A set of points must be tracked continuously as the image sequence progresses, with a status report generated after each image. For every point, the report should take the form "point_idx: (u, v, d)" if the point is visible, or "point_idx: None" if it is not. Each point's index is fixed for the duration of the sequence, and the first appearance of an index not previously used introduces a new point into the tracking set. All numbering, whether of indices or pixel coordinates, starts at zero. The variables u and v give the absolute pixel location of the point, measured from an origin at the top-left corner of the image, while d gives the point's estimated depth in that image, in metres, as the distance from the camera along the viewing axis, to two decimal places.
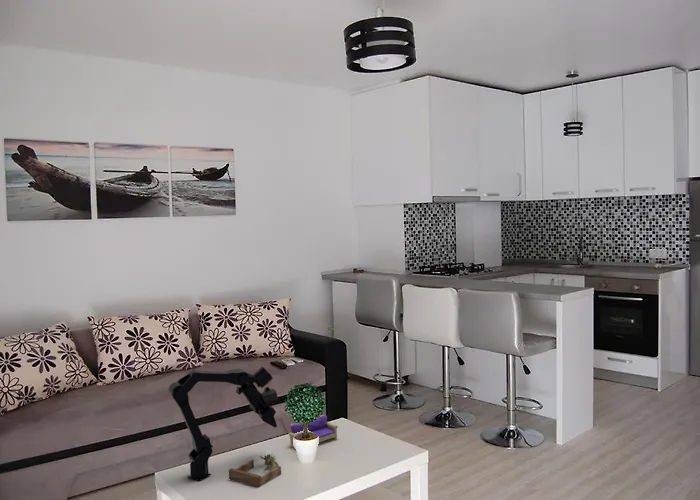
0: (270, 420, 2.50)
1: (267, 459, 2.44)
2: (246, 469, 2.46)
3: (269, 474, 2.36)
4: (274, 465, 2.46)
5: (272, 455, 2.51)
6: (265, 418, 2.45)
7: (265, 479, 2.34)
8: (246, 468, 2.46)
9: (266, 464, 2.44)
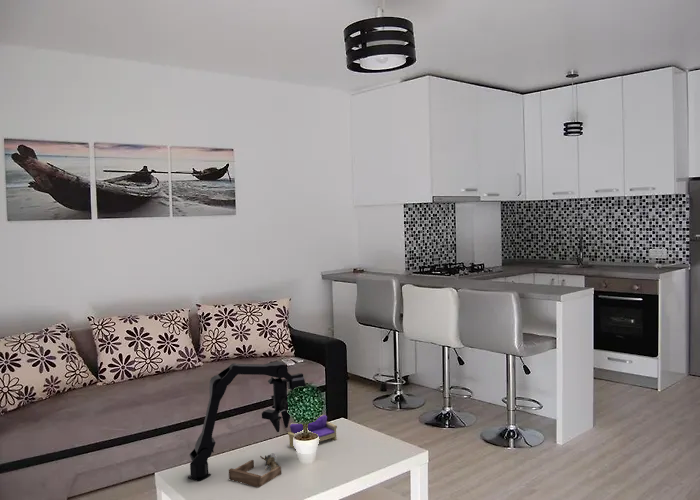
0: (274, 422, 2.51)
1: (268, 459, 2.44)
2: (246, 469, 2.46)
3: (269, 474, 2.36)
4: (275, 465, 2.46)
5: (272, 455, 2.50)
6: (263, 416, 2.47)
7: (265, 479, 2.34)
8: (246, 468, 2.46)
9: (267, 464, 2.44)
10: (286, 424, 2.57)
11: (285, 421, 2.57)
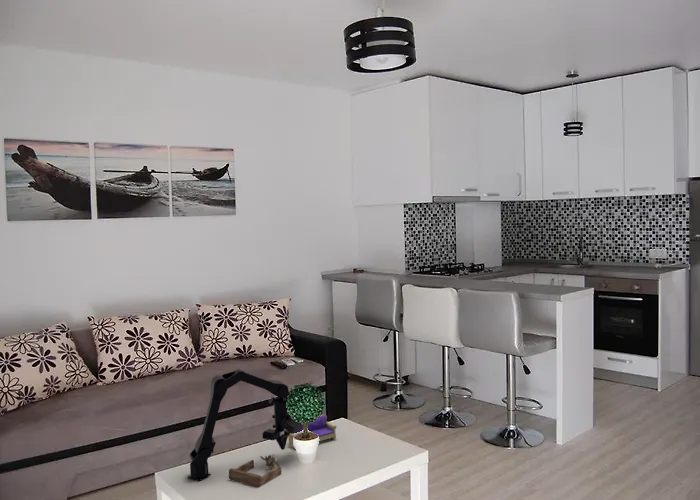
0: (279, 439, 2.54)
1: (268, 460, 2.43)
2: (246, 469, 2.46)
3: (269, 474, 2.36)
4: (276, 466, 2.45)
5: (273, 456, 2.50)
6: (263, 436, 2.48)
7: (265, 479, 2.34)
8: (246, 468, 2.46)
9: (267, 465, 2.43)
10: None
11: None
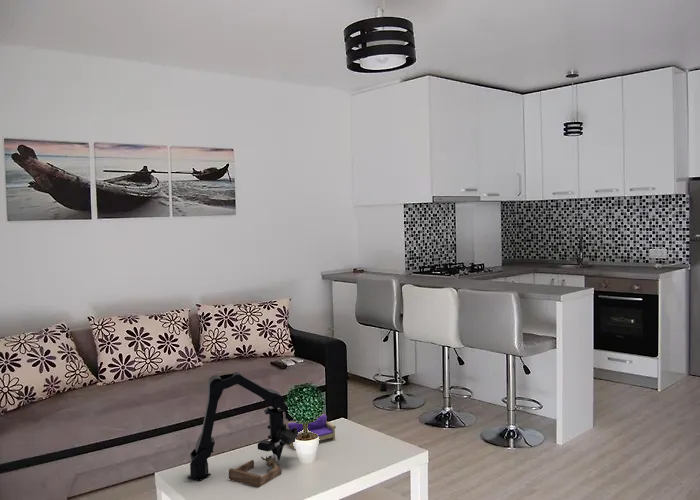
0: (274, 450, 2.51)
1: (269, 460, 2.43)
2: (246, 469, 2.46)
3: (269, 474, 2.36)
4: (276, 466, 2.45)
5: (273, 456, 2.49)
6: (259, 447, 2.45)
7: (265, 479, 2.34)
8: (246, 468, 2.46)
9: (268, 465, 2.42)
10: None
11: None
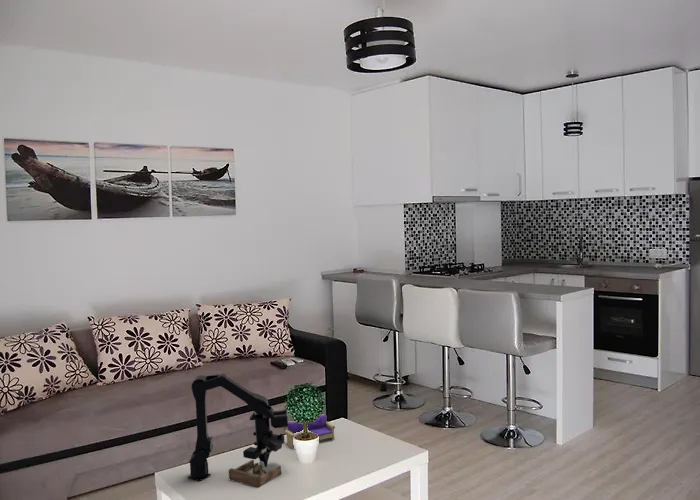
0: (261, 457, 2.44)
1: (255, 468, 2.36)
2: (246, 469, 2.46)
3: (269, 474, 2.36)
4: (263, 474, 2.38)
5: (260, 463, 2.42)
6: (244, 455, 2.38)
7: (265, 479, 2.34)
8: (246, 468, 2.46)
9: (254, 473, 2.36)
10: (265, 463, 2.45)
11: None
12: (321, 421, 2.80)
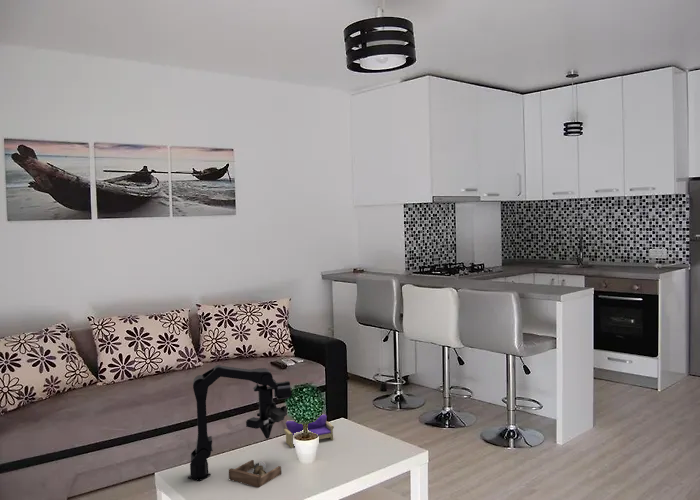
0: (263, 428, 2.48)
1: (255, 468, 2.36)
2: (246, 469, 2.46)
3: (269, 474, 2.36)
4: (263, 474, 2.38)
5: (261, 464, 2.42)
6: (247, 424, 2.41)
7: (265, 479, 2.34)
8: (246, 468, 2.46)
9: (254, 473, 2.36)
10: None
11: None
12: (321, 421, 2.81)
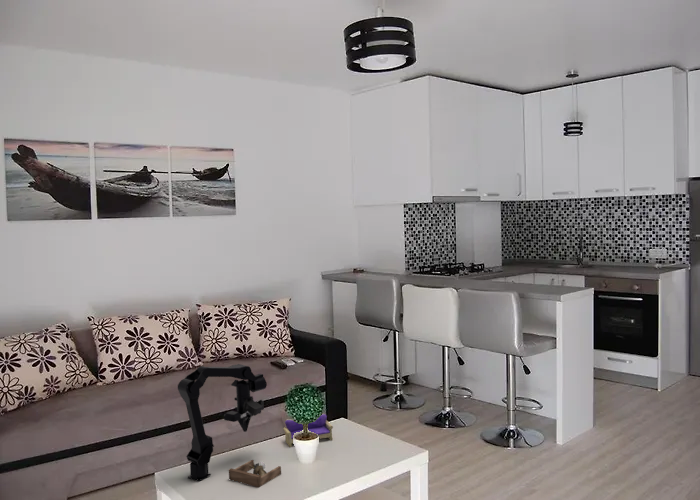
0: (241, 421, 2.56)
1: (255, 468, 2.36)
2: (246, 469, 2.46)
3: (269, 474, 2.36)
4: (263, 474, 2.38)
5: (261, 464, 2.42)
6: (225, 418, 2.50)
7: (265, 479, 2.34)
8: (246, 468, 2.46)
9: (254, 473, 2.36)
10: None
11: None
12: (320, 420, 2.81)
